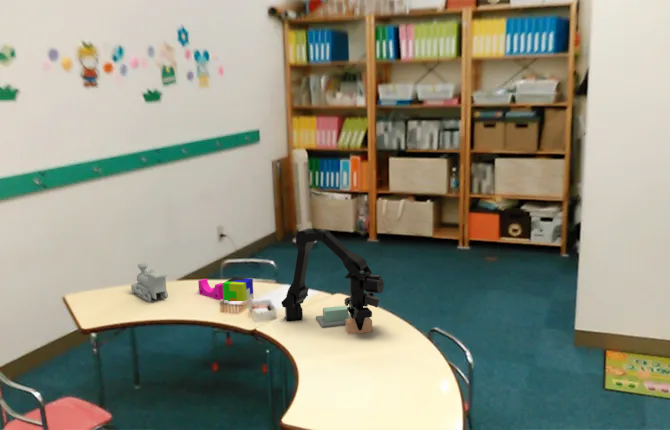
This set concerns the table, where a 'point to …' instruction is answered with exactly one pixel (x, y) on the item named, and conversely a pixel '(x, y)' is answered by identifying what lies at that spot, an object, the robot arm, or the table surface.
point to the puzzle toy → (238, 289)
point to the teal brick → (335, 313)
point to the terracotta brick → (353, 328)
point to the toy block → (210, 289)
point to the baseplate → (331, 324)
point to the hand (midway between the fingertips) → (358, 328)
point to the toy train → (149, 283)
